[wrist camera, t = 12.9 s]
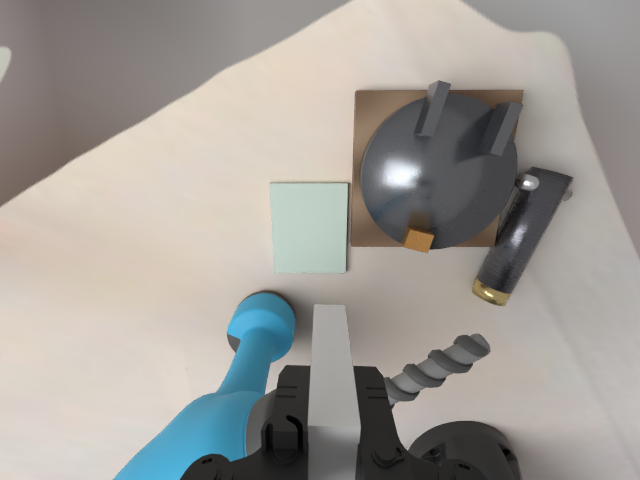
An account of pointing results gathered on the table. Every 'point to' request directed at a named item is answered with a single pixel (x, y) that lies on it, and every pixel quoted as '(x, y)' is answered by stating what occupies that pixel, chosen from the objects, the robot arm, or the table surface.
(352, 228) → the plinth
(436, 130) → the chuck collar
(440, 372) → the power drill
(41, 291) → the table surface
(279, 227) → the mat
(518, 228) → the black cylinder
